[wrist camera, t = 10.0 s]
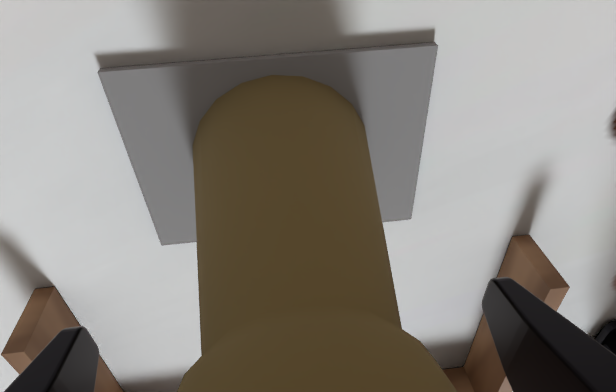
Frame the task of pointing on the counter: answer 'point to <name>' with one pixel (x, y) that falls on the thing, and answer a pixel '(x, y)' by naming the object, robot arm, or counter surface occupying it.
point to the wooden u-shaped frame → (467, 380)
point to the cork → (295, 251)
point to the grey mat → (233, 71)
